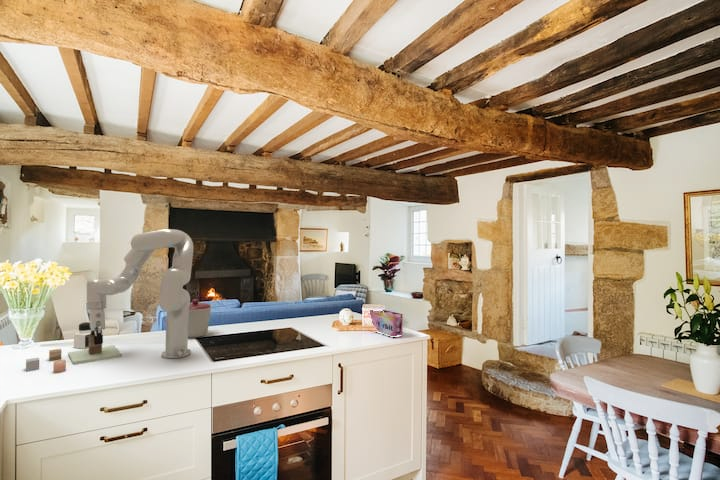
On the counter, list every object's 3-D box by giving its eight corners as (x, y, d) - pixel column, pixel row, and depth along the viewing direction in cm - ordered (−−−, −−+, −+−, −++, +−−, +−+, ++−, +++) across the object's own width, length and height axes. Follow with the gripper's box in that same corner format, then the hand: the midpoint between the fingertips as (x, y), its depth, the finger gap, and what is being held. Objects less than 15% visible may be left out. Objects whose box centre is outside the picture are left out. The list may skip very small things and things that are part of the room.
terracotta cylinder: (66, 371, 151) (66, 361, 151) (53, 373, 148) (54, 363, 148) (65, 368, 154) (65, 359, 154) (52, 371, 151) (53, 361, 151)
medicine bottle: (85, 349, 181) (85, 324, 181) (73, 347, 183) (73, 323, 183) (98, 345, 188) (98, 321, 188) (86, 344, 190) (87, 320, 190)
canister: (183, 331, 219) (184, 296, 219) (215, 331, 221) (216, 296, 221) (171, 340, 201) (172, 301, 201) (206, 339, 203) (207, 301, 203)
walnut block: (101, 353, 172) (102, 336, 172) (89, 355, 169) (90, 337, 169) (100, 350, 175) (100, 334, 175) (88, 352, 172) (88, 335, 172)
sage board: (121, 356, 172) (121, 353, 172) (73, 364, 159) (73, 361, 159) (113, 347, 185) (113, 345, 185) (68, 354, 172) (68, 352, 172)
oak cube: (61, 359, 166) (61, 350, 166) (49, 361, 163) (49, 352, 163) (60, 357, 169) (60, 348, 169) (49, 359, 166) (49, 350, 166)
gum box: (404, 337, 218) (404, 314, 218) (394, 339, 213) (395, 315, 213) (377, 329, 236) (377, 308, 236) (368, 331, 231) (368, 309, 231)
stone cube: (39, 369, 153) (39, 359, 153) (26, 371, 150) (26, 361, 150) (38, 366, 156) (38, 357, 156) (25, 369, 153) (26, 359, 153)
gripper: (109, 306, 168) (109, 344, 168) (102, 302, 181) (102, 337, 181) (89, 309, 163) (89, 347, 163) (83, 304, 176) (84, 339, 176)
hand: (96, 342), depth 172 cm, fingers open, 9 cm apart
